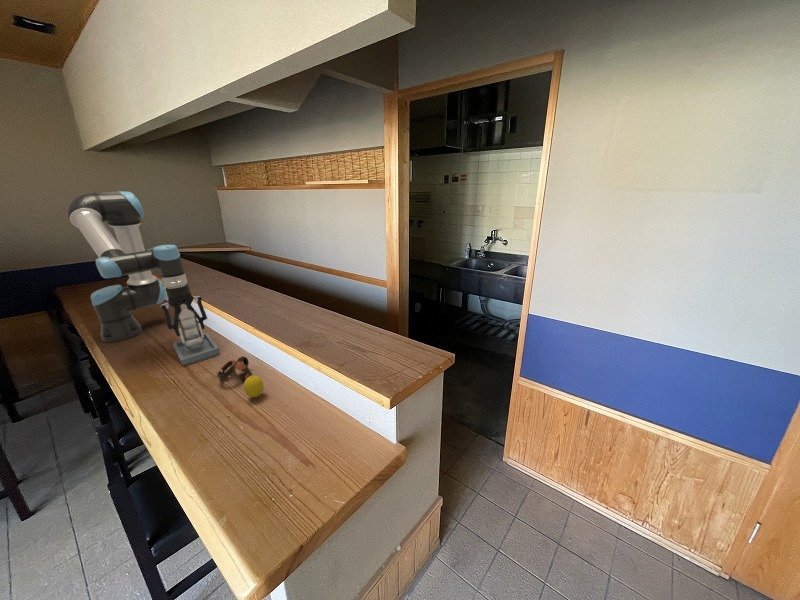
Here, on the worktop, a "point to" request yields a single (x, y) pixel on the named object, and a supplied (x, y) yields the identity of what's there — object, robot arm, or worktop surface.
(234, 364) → the brown irregular piece
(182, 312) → the plastic bottle
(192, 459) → the worktop surface
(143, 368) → the worktop surface
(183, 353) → the tray
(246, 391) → the lemon
